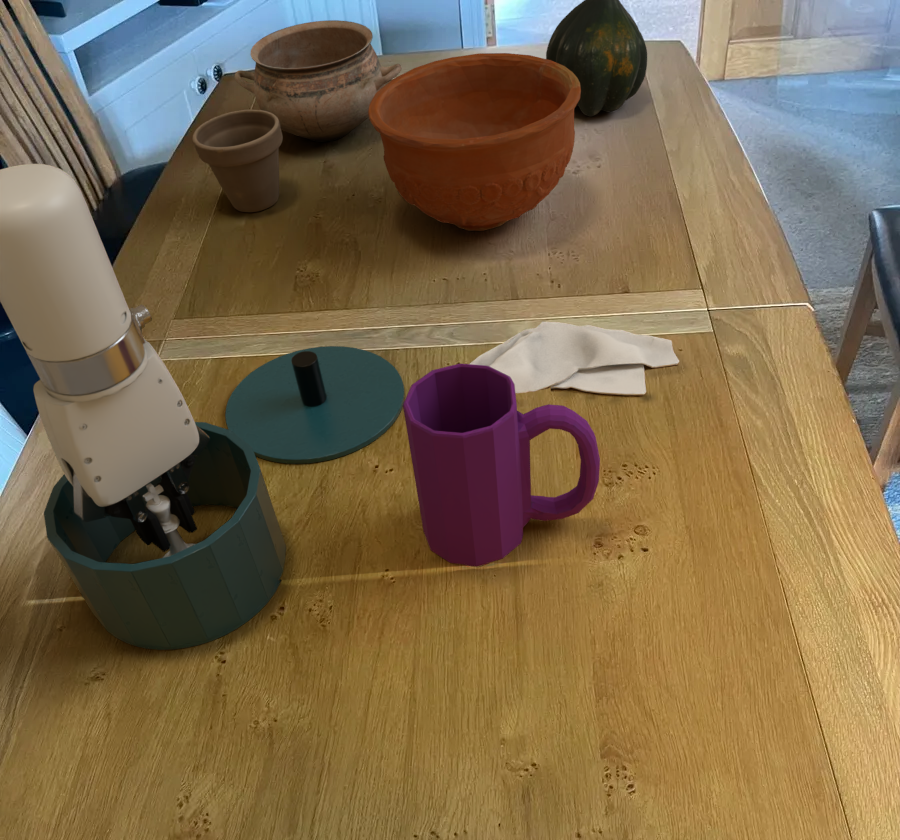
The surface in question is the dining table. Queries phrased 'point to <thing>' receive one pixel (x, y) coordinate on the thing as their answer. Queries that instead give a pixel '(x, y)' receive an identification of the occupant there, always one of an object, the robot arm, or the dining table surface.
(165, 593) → the pot
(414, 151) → the bowl
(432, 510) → the mug
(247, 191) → the flower pot
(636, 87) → the squash
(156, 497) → the chess piece
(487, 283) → the dining table surface
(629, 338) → the cloth
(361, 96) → the cooking pot
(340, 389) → the lid
